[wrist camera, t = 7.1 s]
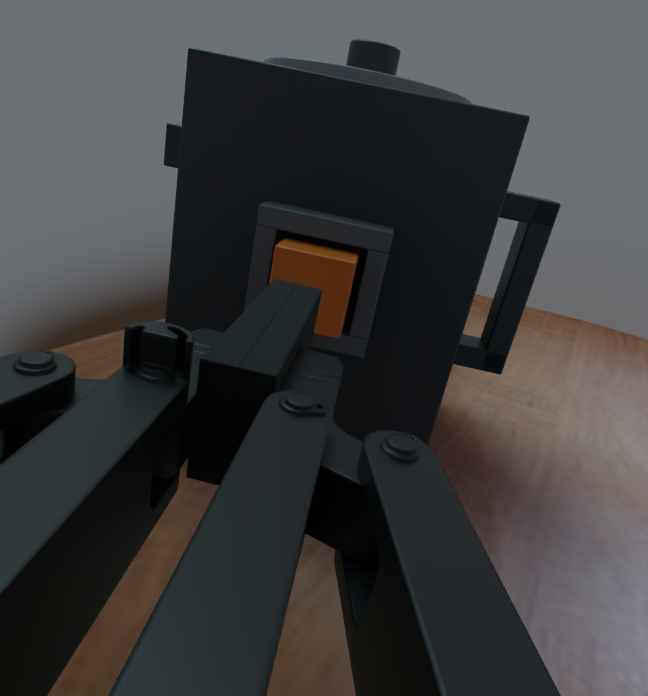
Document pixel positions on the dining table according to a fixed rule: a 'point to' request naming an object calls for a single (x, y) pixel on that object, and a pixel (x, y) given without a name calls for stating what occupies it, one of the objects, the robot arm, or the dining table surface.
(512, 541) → the dining table surface
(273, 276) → the kettle switch
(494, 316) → the kettle
